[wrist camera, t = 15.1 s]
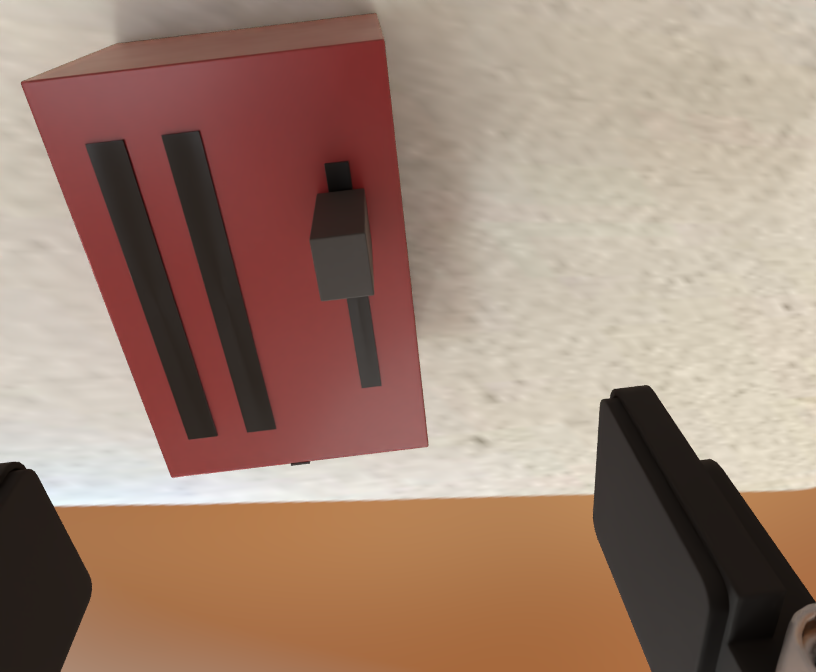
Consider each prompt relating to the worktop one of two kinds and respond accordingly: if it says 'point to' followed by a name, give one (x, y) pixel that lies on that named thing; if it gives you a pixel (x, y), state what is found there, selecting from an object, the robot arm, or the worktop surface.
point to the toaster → (242, 236)
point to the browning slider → (342, 245)
